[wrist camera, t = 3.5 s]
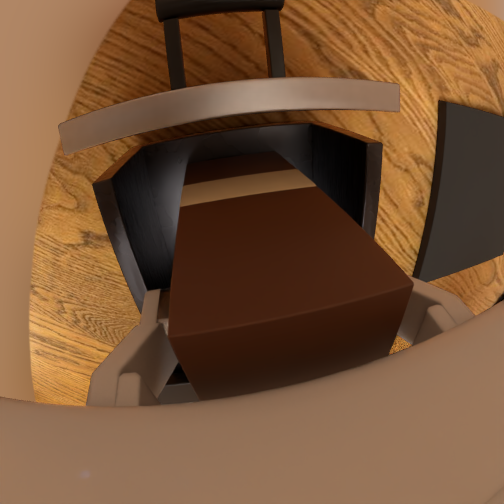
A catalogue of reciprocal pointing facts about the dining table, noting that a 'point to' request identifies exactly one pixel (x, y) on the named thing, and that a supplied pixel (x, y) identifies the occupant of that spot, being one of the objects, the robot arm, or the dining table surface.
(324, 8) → the dining table surface
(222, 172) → the packet
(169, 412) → the robot arm
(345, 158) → the drawer
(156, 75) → the dining table surface
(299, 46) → the dining table surface
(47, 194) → the dining table surface
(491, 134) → the mat
